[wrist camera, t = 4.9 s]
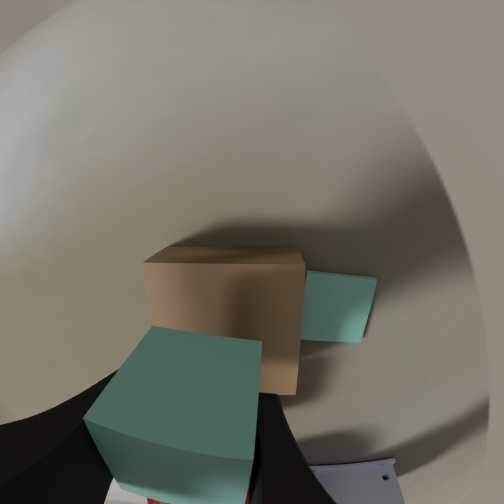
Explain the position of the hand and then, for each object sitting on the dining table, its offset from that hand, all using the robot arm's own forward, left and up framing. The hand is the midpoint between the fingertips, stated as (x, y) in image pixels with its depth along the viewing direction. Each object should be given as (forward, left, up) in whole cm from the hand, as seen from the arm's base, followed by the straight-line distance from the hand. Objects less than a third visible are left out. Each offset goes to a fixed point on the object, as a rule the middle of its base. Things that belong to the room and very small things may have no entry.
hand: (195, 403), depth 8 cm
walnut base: (0, 0, -8) cm, 8 cm away
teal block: (0, 0, -2) cm, 2 cm away
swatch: (-6, -1, -7) cm, 10 cm away
